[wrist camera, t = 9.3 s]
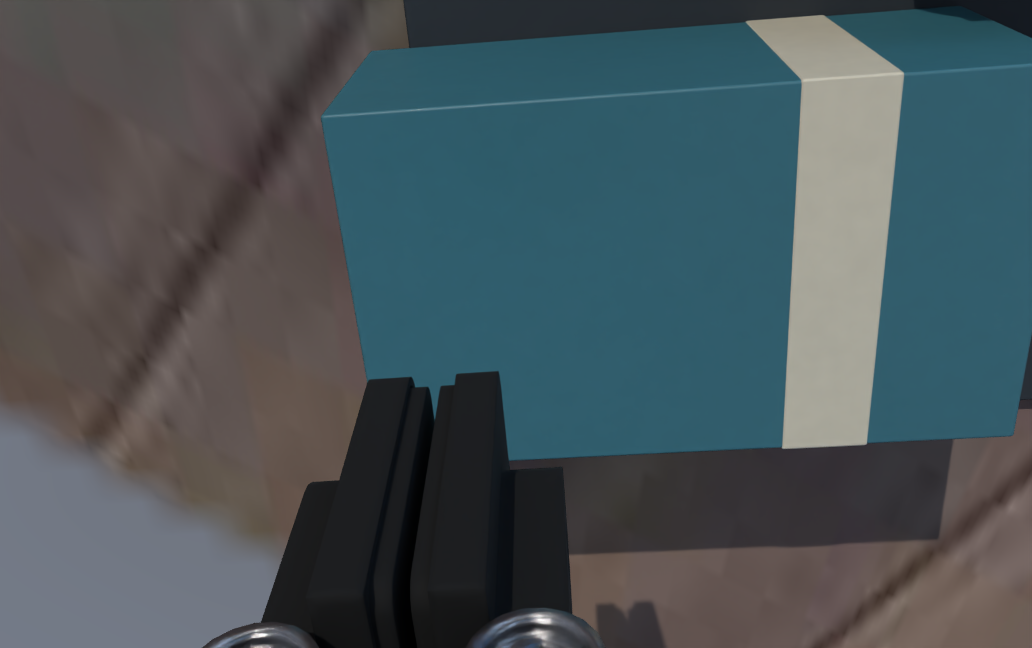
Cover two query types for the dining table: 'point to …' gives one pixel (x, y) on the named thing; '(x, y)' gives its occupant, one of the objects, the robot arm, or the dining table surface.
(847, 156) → the carton
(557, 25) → the mat
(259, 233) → the dining table surface
